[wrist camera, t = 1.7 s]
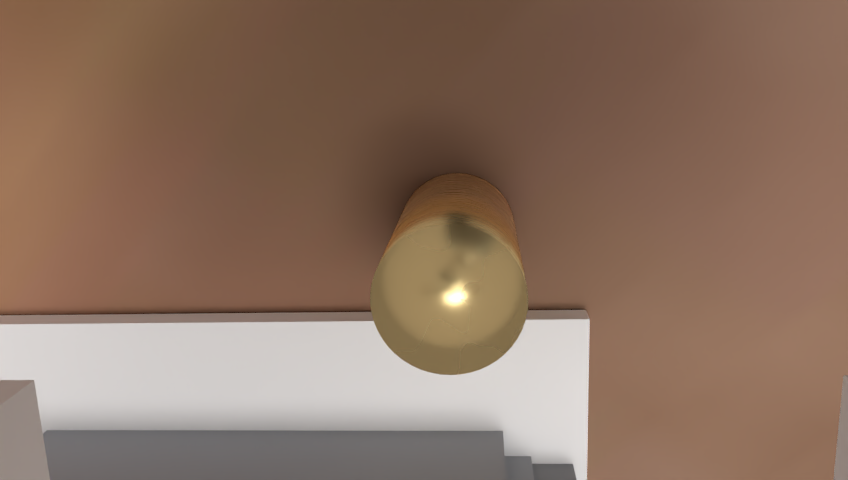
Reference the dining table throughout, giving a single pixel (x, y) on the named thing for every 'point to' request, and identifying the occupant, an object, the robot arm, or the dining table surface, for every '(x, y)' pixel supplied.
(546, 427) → the white grey flat tray
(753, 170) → the dining table surface
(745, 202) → the dining table surface
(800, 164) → the dining table surface
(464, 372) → the pin
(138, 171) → the dining table surface
